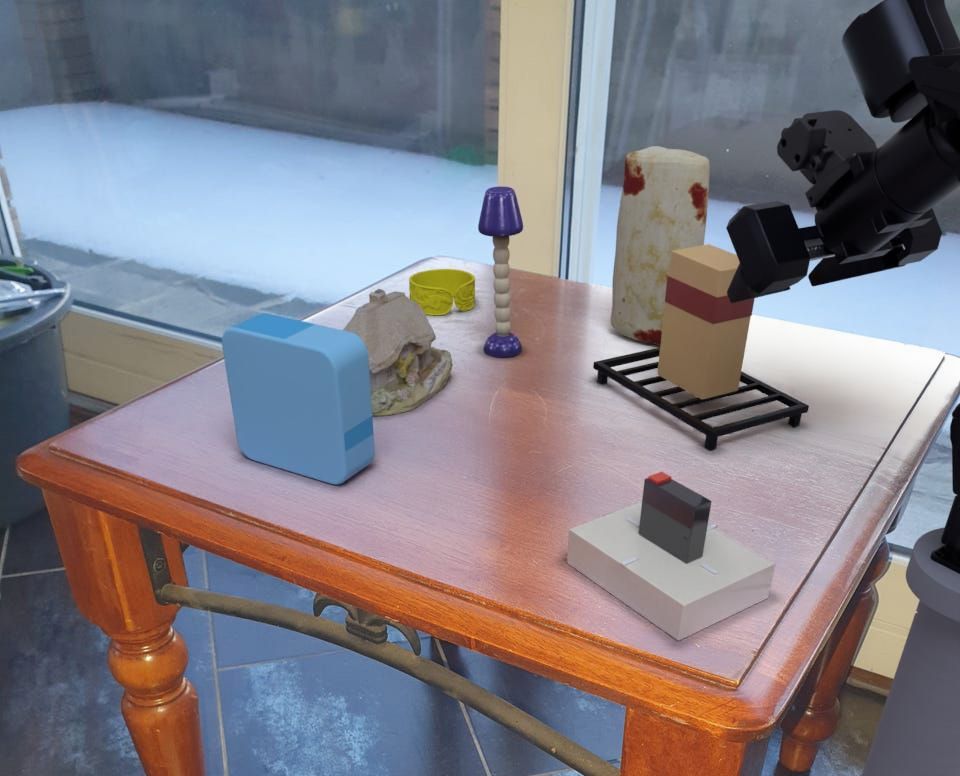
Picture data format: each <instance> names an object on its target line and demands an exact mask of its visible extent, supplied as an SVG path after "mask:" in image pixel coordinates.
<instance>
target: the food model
mask: <svg viewBox="0 0 960 776" xmlns="http://www.w3.org/2000/svg"><path fill="white" fill-rule="evenodd" d="M710 165H711V164H710V160H709V157H707V156H705V155H701V154H699V153H696V152H694V151H689V150H686V149H675V148H674V149H673V148H666V147H664V146H659V145H652V146H649V147H646V148H643V149H640V150H635V151H632V152H630V153H627V155H626V157H625V160H624V174H623V185H622V190H621V195H620V201H619V206H618V215H617V223H616V237H615V238H616V239H615V253H614V261H613V270H612V285H611V286H612V288H611V289H612V293H611V294H612V295H611V299H612V301H611V304H612V305H611V313H610V325H611V327H612V328H613V329H614V330H616V331H617V332H618V333H619V334H620V335H622V336H625V337H628V338H630V339H633V340H636V341H639V342H643V343H649V344H654V345H659V346H660V345H661V336H662V328H663V319H664V310H665V294H666V286H667V277H668V276H669V267H670V259H671V251H673V250H679V249H684V248H690V247H696V246H702V245H705V238H706V230H707V229H706V227H707V219H708V208H709V207H708V205H709V191H710V190H709V189H710V175H711V174H710V171H711V170H710V169H711V168H710V167H711V166H710Z"/></svg>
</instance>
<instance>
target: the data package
mask: <svg viewBox="0 0 960 776" xmlns="http://www.w3.org/2000/svg"><path fill="white" fill-rule="evenodd" d="M221 347H222V353H223V359H224V366H225V372H226V378H227V384H228V385H227V386H228V390H229V398H230V403H231V409H232V410H231V411H232V416H233V423H234V427H235V428H234V430H235V435H236V441H237V444H238V445H237V446H238V448H240V451H241V452H242V453H243V455H245V456H246V457H247V458H248V459H250V460H252V461H255V462H257V463H261V464H264V465H267V466H271V467H275V468H278V469H281V470H285V471H288V472H291V473H293V474H298V475H301V476H304V477H308V478H311V479H314V480H317V481H321V482H324V483H327V484H331V485H335V486H336V485H341V484H343V483H344V482H346V481H347V480H349V479H350V478H351V477H353V476H354V475H356V474H357V473H359V472H360V471H361V470H363V469H364V468H366V467H368V466H369V465H370V464H372V463H373V461H374V459H375V455H376V448H375V438H374V437H375V435H374V420H373V416H372V404H371V389H370V374H369V359H368V351H367V348H366V346H365V344H364V342H363V341H362V339H361V338H360V337H359V336H357V335H356V334H354V333H352V332H348V331H344V330H343V329H339V328H334V327H330V326H325V325H321V324H317V323H313V322H312V323H311V322H307V321H303V320H298V319H294V318H290V317H285V316H281V315H276V314H272V313H269V312H267V313H266V312H262V313H260V314H257V315H255V316H253V317H251V318H248V319H246V320H244V321H241V322H240V323H237V324H234V325H233V326H230V327H228V328H226V329H225V330H224V332H223V333H222V337H221Z"/></svg>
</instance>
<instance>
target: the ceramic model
mask: <svg viewBox="0 0 960 776" xmlns="http://www.w3.org/2000/svg"><path fill="white" fill-rule="evenodd" d="M368 298H369V299H368V300H369V301H368V302H366V303H364V304H362V305H361V306H358V308H356V310H355V312H354V314H353V316H352V317H351V319H350V320H349V321H348V322H347V323H346V325H345V326H344V327H343V329H342V330H344V331H348V332H352V333H354V334H356V335H357V336H359V337H360V338H361V339H362V341H363V342H364V344H365V346H366V348H367V351H368V359H369V374H370V389H371V404H372V417H373V416H374V417H375V416H376V417H379V416H380V417H381V416H383V417H384V416H390V415H396V414H402V413H407V412H409V411H412V410H414V409H416V408H417V407H419V406H420V405H422V404H423V403H425V402H426V401H428V400H430V399H431V398H432V397H434V396H435V395H436V394H437V393H438V392H440V391H441V390H442V389H443V388H444V387H445V386H446V385H447V384H448V381H449V377H450V376H451V373H452V370H453V367H454V364H453V359H452V354H451V351H449V350H446V349H440V348H437V347H435V346H432V343H433V342H434V341H436V340H437V337H436V334H435V333H436V332H435V331H434V329H433V327H432V324H431V323H430V320H429V319H428V317H427V314H425V313H424V311H423V309H422V308H421V307H420V305H419V304H418V303H417V302H415V301H412V300H410V297H408V296H407V295H406V293H405V292H403V291H396V290H395V291H392V292H389V293H386V291H385V290H384V289H382V288H377V289H376V290H374V291H370V293H368Z"/></svg>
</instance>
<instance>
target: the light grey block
mask: <svg viewBox="0 0 960 776" xmlns="http://www.w3.org/2000/svg"><path fill="white" fill-rule="evenodd" d="M641 507H642V501H639V502H637V503H634V504H631V505H629V506H626V507H623V508H620V509H618V510H615V511H613V512H610V513H608V514H604V515H602V516H600V517H597V518H594V519H592V520H588V521H587V522H584V523H581V524H579V525H576V526H574V527H571V528H569V529H568V539H567V553H566V555H567V556H566V564H567V565H569V566H571V567H572V568H573V569H575V570H577V572H579V573H580V574H582V575H583V576H584V577H586V578H588V579H589V580H591V582H593V583H595V584H596V585H598V586H599V587H600V588H602V589H603V590H605V591H606V592H607V593H609V594H610V595H612V596H613V597H614V598H616V599H618V600H619V601H620V602H622V603H623V604H625V605H626V606H627V607H629V608H630V609H632V610H633V611H634V612H636V613H638V614H639V615H640V616H642V617H643V618H644V619H646V620H647V621H648V622H650V623H652V624H653V625H655V626H656V627H657V628H659V629H660V630H662V631H663V632H665V633H666V634H668V635H669V636H670V637H672V638H673V639H674V640H676V641H678V642H679V641H681V640H683V639H685V638H688V637H690V636H692V635H695V634H696V633H699V632H700V631H702V630H705V629H706V628H709V627H710V626H713V625H715V624H716V623H717V624H718V623H719V622H721V621H723V620H725V619H728V618H729V617H731V616H733V615H735V614H737V613H740V612H742V611H744V610H746V609H748V608H750V607H753V606H755V605H757V604H759V603H760V602H763V601H765V600H767V599H769V597H770V596H769V595H770V591H771V586H772V582H773V578H774V573H775V568H776V562H774V561H772V560H771V559H769V558H767V557H766V556H764V555H762V554H760V553H759V552H757V551H755V550H754V549H752V548H750V547H748V546H746V545H745V544H743V543H741V542H740V541H738V540H736V539H734V538H733V537H731V536H729V535H727V534H726V533H724V532H722V531H721V530H718V529H717V527H718V526H717V525H716V524H714V523H712V524H708V526H707V532H706V538H705V544H704V551H703V556H702V557H700V558H698V559H696V560H693V561H691V562H689V563H685V562H683V561H682V560H680V559H679V558H677V557H675V556H674V555H672V554H671V553H669V552H667V551H666V550H664V549H663V548H661V547H659V546H658V545H656V544H655V543H653V542H651V541H650V540H648V539H647V538H645V537H643V536H642V535H640V534H639V524H640V515H641Z"/></svg>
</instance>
